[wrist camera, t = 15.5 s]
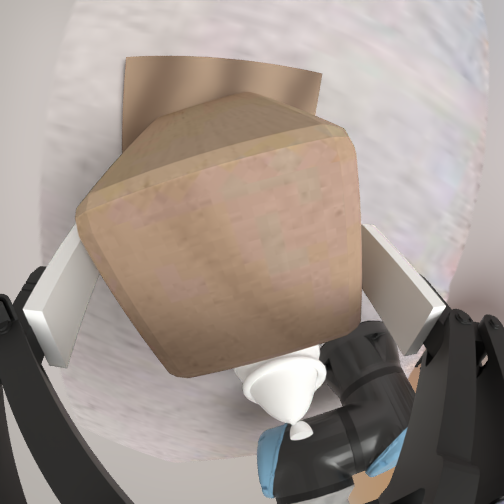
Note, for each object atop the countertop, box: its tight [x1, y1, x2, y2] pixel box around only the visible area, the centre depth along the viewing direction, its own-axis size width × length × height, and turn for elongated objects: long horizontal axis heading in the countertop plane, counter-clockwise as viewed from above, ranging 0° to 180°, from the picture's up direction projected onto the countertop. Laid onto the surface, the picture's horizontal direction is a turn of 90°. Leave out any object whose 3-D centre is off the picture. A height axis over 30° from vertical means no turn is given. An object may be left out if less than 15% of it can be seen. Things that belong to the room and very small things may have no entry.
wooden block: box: [75, 92, 362, 378], centre depth 19 cm, size 10×10×20 cm
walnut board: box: [122, 56, 322, 153], centre depth 28 cm, size 18×18×2 cm
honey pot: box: [233, 345, 327, 440], centre depth 35 cm, size 13×13×18 cm
